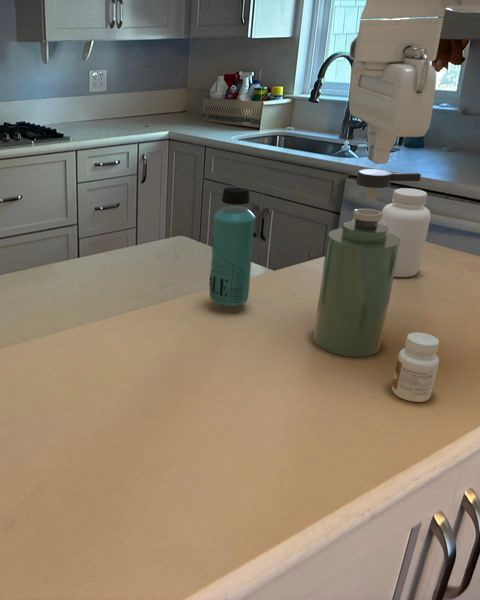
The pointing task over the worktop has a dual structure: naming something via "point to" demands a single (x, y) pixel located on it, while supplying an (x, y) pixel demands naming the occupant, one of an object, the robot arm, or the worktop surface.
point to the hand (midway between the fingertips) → (377, 161)
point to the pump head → (381, 180)
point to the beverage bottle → (232, 249)
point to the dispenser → (356, 286)
